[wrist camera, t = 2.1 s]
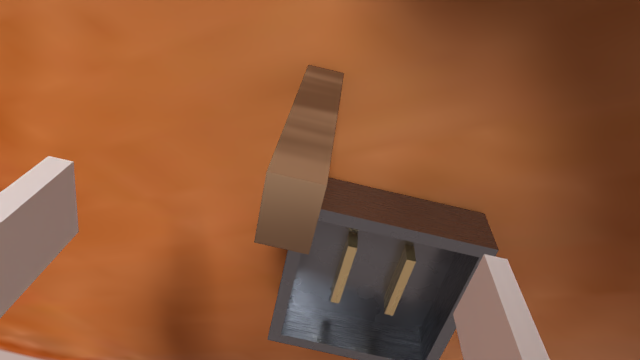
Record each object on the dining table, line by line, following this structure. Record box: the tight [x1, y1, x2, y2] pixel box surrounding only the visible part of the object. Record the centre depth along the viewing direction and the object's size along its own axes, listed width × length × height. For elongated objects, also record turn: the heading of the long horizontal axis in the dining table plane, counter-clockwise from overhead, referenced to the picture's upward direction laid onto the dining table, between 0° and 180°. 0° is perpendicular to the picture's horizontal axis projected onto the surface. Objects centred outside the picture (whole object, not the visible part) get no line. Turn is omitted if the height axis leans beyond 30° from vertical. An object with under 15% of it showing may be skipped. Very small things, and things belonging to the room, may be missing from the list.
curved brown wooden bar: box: [254, 65, 344, 255], centre depth 21 cm, size 3×2×12 cm, turn 168°
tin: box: [268, 178, 498, 360], centre depth 30 cm, size 12×12×4 cm
